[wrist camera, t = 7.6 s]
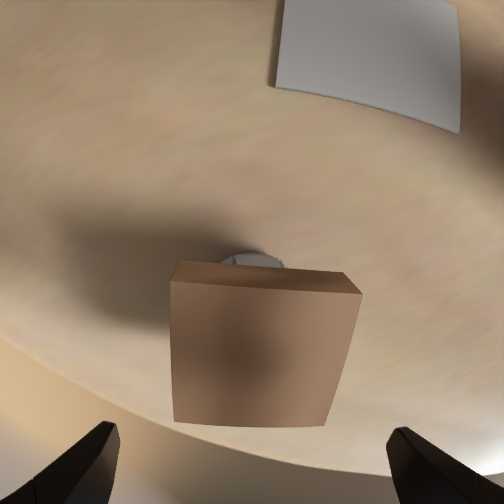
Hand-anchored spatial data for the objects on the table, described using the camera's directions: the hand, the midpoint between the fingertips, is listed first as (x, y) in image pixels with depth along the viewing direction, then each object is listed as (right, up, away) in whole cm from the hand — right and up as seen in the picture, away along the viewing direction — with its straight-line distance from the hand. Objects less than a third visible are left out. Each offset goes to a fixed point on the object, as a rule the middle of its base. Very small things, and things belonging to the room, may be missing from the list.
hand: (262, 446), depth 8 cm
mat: (+7, +19, +6) cm, 21 cm away
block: (0, +2, +6) cm, 6 cm away
